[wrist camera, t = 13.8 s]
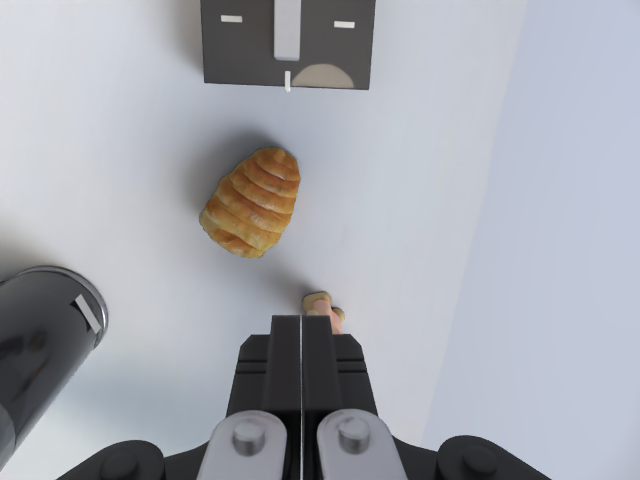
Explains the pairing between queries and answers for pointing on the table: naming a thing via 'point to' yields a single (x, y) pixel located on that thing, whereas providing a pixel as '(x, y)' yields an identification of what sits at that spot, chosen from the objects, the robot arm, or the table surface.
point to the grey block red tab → (287, 29)
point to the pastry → (253, 203)
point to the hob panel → (315, 44)
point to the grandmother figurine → (324, 309)
